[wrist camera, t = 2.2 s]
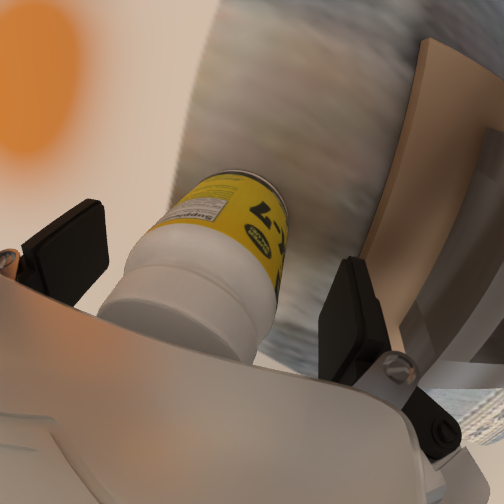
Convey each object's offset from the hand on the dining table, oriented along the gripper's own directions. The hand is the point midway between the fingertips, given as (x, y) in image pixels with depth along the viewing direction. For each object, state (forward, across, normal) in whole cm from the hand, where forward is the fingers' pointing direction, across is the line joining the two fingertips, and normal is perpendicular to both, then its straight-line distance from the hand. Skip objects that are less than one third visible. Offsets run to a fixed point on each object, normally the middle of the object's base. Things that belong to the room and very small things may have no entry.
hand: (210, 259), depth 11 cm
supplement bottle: (+4, 0, 0) cm, 4 cm away
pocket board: (+3, -15, -2) cm, 16 cm away
